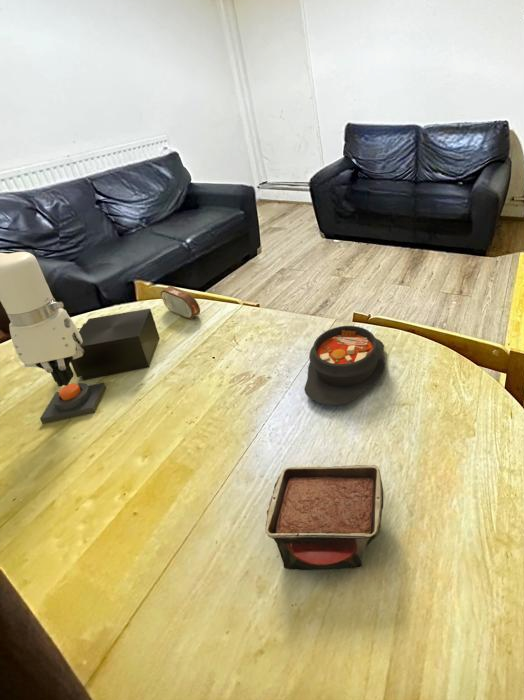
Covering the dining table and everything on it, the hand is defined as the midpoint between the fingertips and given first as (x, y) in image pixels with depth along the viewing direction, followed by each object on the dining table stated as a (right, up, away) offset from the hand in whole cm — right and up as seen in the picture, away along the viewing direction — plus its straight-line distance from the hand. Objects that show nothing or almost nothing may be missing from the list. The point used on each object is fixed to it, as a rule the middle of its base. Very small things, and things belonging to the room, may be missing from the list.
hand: (66, 381), depth 91 cm
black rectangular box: (+2, 0, +17) cm, 18 cm away
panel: (0, -6, +3) cm, 7 cm away
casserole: (+61, -1, +9) cm, 62 cm away
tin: (+9, +8, +35) cm, 37 cm away
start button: (0, -4, +2) cm, 4 cm away
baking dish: (+61, -16, -24) cm, 68 cm away
